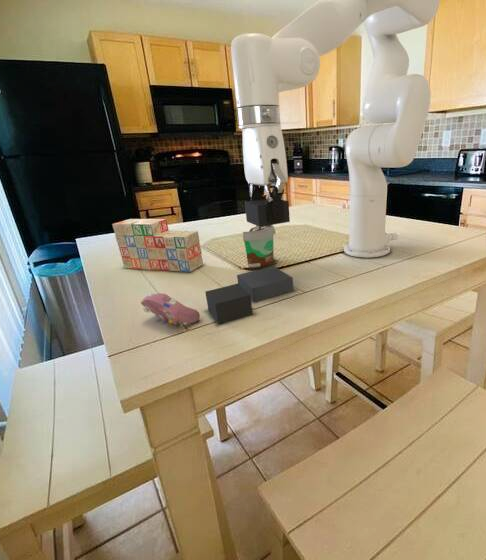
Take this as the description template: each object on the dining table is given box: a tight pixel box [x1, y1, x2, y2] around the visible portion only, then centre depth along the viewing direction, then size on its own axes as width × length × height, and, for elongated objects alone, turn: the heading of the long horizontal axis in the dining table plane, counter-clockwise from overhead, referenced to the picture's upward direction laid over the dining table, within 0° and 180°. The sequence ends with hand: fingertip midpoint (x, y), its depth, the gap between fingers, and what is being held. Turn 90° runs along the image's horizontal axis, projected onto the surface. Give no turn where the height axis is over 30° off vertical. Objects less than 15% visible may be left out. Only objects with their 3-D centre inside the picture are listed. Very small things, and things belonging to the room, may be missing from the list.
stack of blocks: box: [111, 218, 204, 273], centre depth 88 cm, size 21×6×12 cm, turn 72°
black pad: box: [204, 283, 254, 325], centre depth 62 cm, size 6×6×4 cm
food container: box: [242, 225, 277, 271], centre depth 86 cm, size 12×6×10 cm, turn 168°
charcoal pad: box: [244, 198, 291, 227], centre depth 66 cm, size 6×6×4 cm
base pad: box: [236, 265, 294, 302], centre depth 72 cm, size 9×9×3 cm
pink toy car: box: [140, 292, 201, 326], centre depth 60 cm, size 10×5×7 cm, turn 56°
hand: (267, 218), depth 67 cm, fingers closed on charcoal pad, 6 cm apart
